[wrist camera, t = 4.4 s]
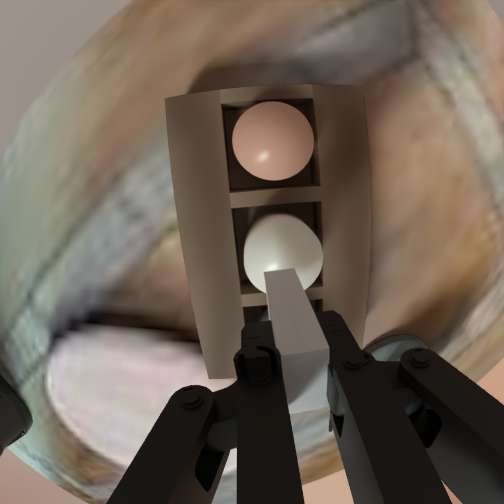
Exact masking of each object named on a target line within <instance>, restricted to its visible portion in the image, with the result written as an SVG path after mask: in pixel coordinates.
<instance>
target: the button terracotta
mask: <svg viewBox="0 0 504 504" xmlns="http://www.w3.org/2000/svg"><path fill="white" fill-rule="evenodd" d="M232 144H233V149H234V153H235V155H236V157H237V159H238V161H239V163H240V164H241V165H242V166H243V167H244V168H245V169H246V170H247V171H248V172H250V173H251V174H253V175H254V176H256V177H259V178H262V179H266V180H283V179H286V178H289V177H292V176H293V175H295V174H297V173H298V172H300V171H301V170H302V169H303V168H304V167H305V166H306V164H307V163H308V161H309V160H310V158H311V155H312V152H313V148H314V136H313V131H312V128H311V126H310V124H309V122H308V120H307V119H306V118H305V116H304V115H303V114H302V113H301V112H300V111H298V110H297V109H296V108H294V107H292V106H290V105H288V104H285V103H281V102H263V103H259V104H257V105H254V106H253V107H251V108H249V109H248V110H247V111H245V112H244V113H243V114H242V115H241V117H240V118H239V119H238V121H237V123H236V125H235V128H234V131H233V137H232Z"/></svg>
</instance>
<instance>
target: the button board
mask: <svg viewBox="0 0 504 504" xmlns="http://www.w3.org/2000/svg"><path fill="white" fill-rule="evenodd" d="M263 102H281V103H285V104H288V105H290V106H292V107H294V108H296V109H297V110H298V111H300V112H301V113H302V114H303V115H304V116H305V118H306V119H307V120H308V122H309V124H310V126H311V128H312V131H313V136H314V148H313V152H312V155H311V158H310V160H309V161H308V163H307V164H306V166H305V167H304V168H303V169H302V170H301V171H300V172H298V173H297V174H295V175H293V176H292V177H289V178H286V179H283V180H266V179H262V178H259V177H256V176H254V175H253V174H251V173H250V172H248V171H247V170H246V169H245V168H244V167H243V166H242V165H241V164H240V163H239V161H238V159H237V157H236V155H235V153H234V149H233V144H232V137H233V131H234V128H235V125H236V123H237V121H238V119H239V118H240V117H241V115H242V114H243V113H244V112H245V111H247V110H248V109H249V108H251V107H253V106H254V105H257V104H259V103H263ZM165 109H166V122H167V134H168V144H169V154H170V164H171V172H172V181H173V189H174V197H175V204H176V211H177V218H178V225H179V232H180V238H181V245H182V251H183V257H184V263H185V268H186V274H187V279H188V285H189V290H190V295H191V300H192V306H193V310H194V315H195V320H196V325H197V330H198V334H199V339H200V343H201V348H202V352H203V356H204V361H205V365H206V369H207V373H208V377H209V379H226V378H237V375H236V371H235V366H234V361H233V358H234V356H235V354H236V353H237V352H238V351H239V350H240V349H241V330H242V329H243V327H244V326H245V324H246V323H251V322H256V320H257V318H258V317H259V315H260V314H261V313H262V312H264V311H265V310H266V309H268V304H267V296H266V293H264V292H262V291H261V290H259V289H258V288H257V287H255V286H254V285H253V283H252V282H251V281H250V279H249V278H248V276H247V274H246V271H245V267H244V242H245V236H246V233H247V231H248V229H249V227H250V226H251V225H252V223H253V222H254V221H255V220H257V219H258V218H259V217H261V216H262V215H264V214H267V213H270V212H275V211H282V212H288V213H291V214H294V215H295V216H297V217H299V218H300V219H301V220H302V221H303V222H304V223H305V224H306V225H307V226H308V227H309V228H310V229H311V230H312V232H313V233H314V234H315V235H316V236H317V238H318V240H319V241H320V244H321V246H322V250H323V264H322V268H321V271H320V273H319V275H318V277H317V278H316V280H315V281H314V282H313V283H312V284H311V285H310V286H309V287H308V288H307V289H305V290H304V291H305V293H306V295H307V298H308V300H309V302H310V304H311V306H312V309H313V311H314V313H317V312H323V311H329V310H334V311H335V312H337V313H338V314H340V315H341V316H342V318H343V319H344V321H345V324H347V326H348V328H349V330H350V331H351V333H352V335H353V336H354V338H355V340H356V342H357V343H358V345H359V347H360V349H361V350H362V345H363V337H364V329H365V321H366V311H367V300H368V288H369V273H370V253H371V177H370V157H369V143H368V131H367V120H366V111H365V102H364V95H363V87H362V86H348V85H324V84H289V85H265V86H250V87H239V88H229V89H220V90H212V91H205V92H198V93H192V94H186V95H180V96H175V97H169V98H165Z"/></svg>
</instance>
